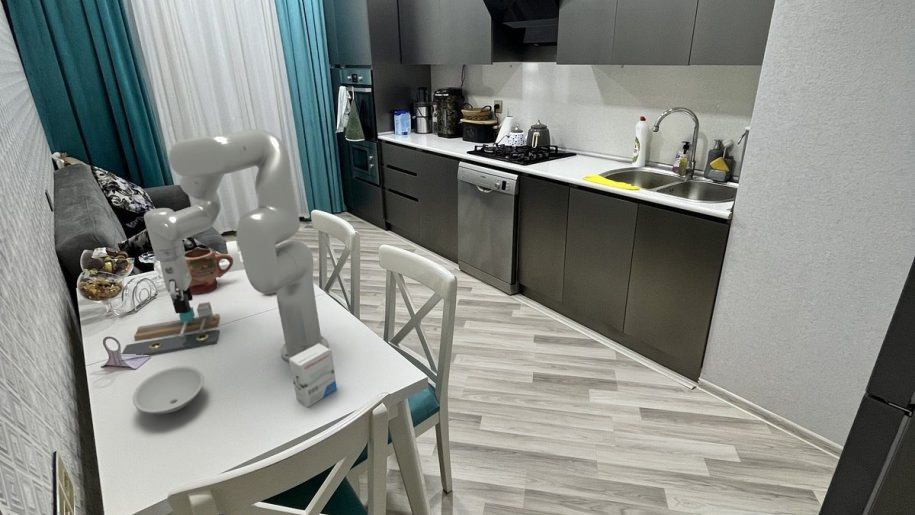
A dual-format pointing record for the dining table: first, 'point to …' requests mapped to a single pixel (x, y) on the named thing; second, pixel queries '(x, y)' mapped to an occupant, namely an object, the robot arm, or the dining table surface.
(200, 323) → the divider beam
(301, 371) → the ink box
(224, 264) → the tape dispenser
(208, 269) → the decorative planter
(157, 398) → the dish
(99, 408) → the dining table surface
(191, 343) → the hole plate
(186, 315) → the sliding leg
